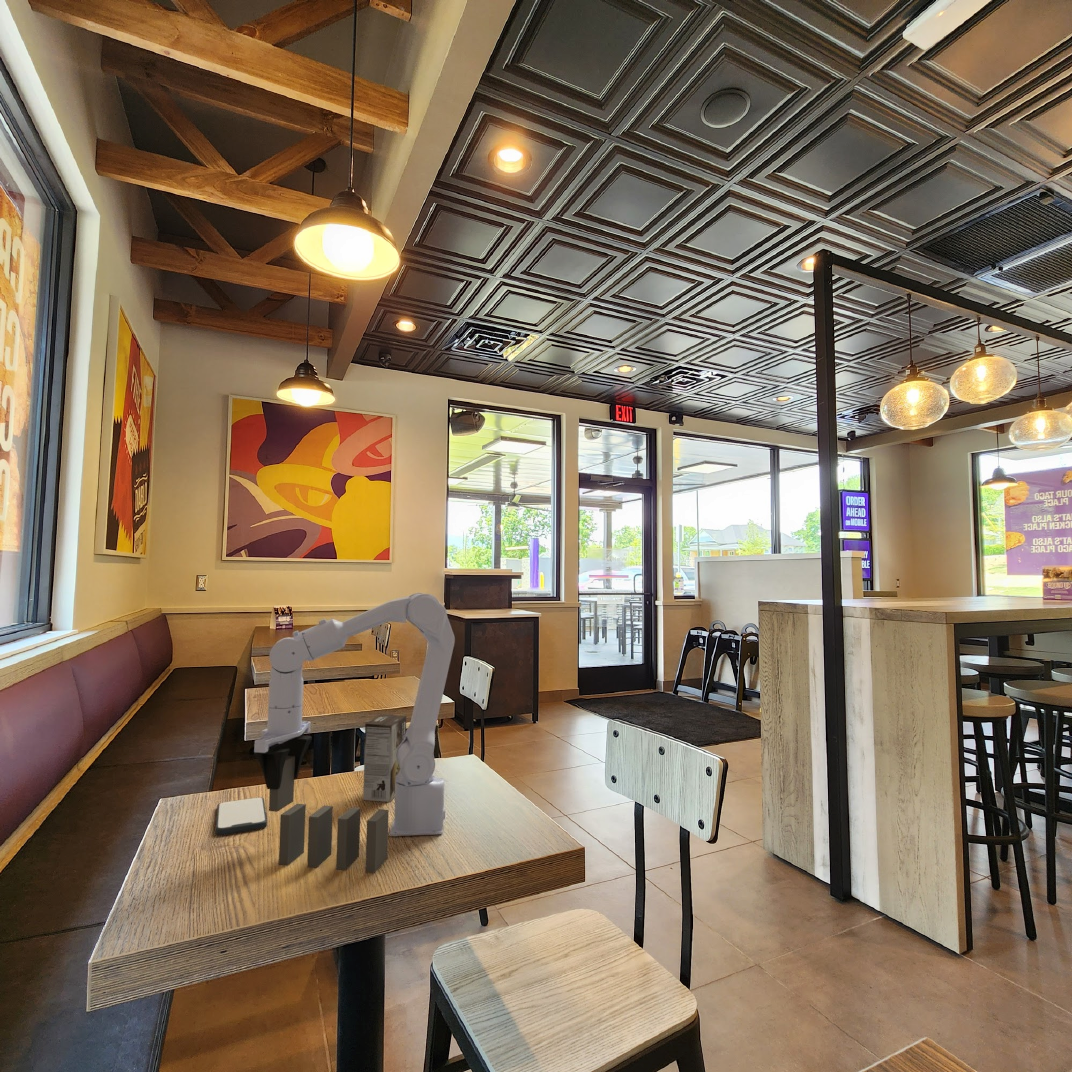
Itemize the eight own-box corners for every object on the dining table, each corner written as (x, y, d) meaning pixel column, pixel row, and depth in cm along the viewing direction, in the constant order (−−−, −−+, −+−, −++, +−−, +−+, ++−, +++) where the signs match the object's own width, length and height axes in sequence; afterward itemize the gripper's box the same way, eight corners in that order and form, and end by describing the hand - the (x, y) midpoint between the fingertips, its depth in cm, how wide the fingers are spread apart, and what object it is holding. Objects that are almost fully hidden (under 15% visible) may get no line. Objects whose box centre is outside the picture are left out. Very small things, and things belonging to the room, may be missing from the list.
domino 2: (331, 854, 102) (332, 806, 102) (316, 868, 97) (318, 817, 97) (322, 853, 102) (324, 805, 102) (307, 867, 97) (308, 816, 97)
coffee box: (378, 786, 136) (380, 713, 137) (405, 787, 135) (407, 714, 136) (361, 800, 127) (363, 723, 128) (390, 802, 126) (392, 724, 127)
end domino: (293, 801, 108) (295, 756, 109) (277, 811, 103) (279, 764, 104) (285, 800, 108) (287, 755, 109) (268, 811, 103) (270, 763, 104)
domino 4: (387, 859, 100) (388, 809, 101) (374, 873, 95) (376, 821, 96) (378, 858, 100) (379, 809, 101) (365, 872, 95) (366, 820, 96)
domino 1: (304, 852, 102) (305, 804, 103) (287, 865, 97) (289, 815, 98) (295, 851, 102) (297, 803, 103) (278, 865, 98) (280, 814, 98)
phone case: (216, 810, 122) (214, 839, 108) (216, 802, 122) (214, 829, 108) (263, 803, 126) (267, 830, 112) (264, 796, 126) (268, 821, 112)
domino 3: (359, 856, 101) (360, 807, 101) (345, 870, 96) (347, 819, 96) (350, 856, 101) (351, 807, 102) (336, 870, 96) (337, 818, 97)
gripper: (287, 697, 115) (284, 769, 114) (239, 713, 101) (235, 796, 100) (321, 698, 114) (319, 771, 113) (277, 714, 100) (274, 798, 99)
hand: (282, 783), depth 106 cm, fingers closed on end domino, 5 cm apart
